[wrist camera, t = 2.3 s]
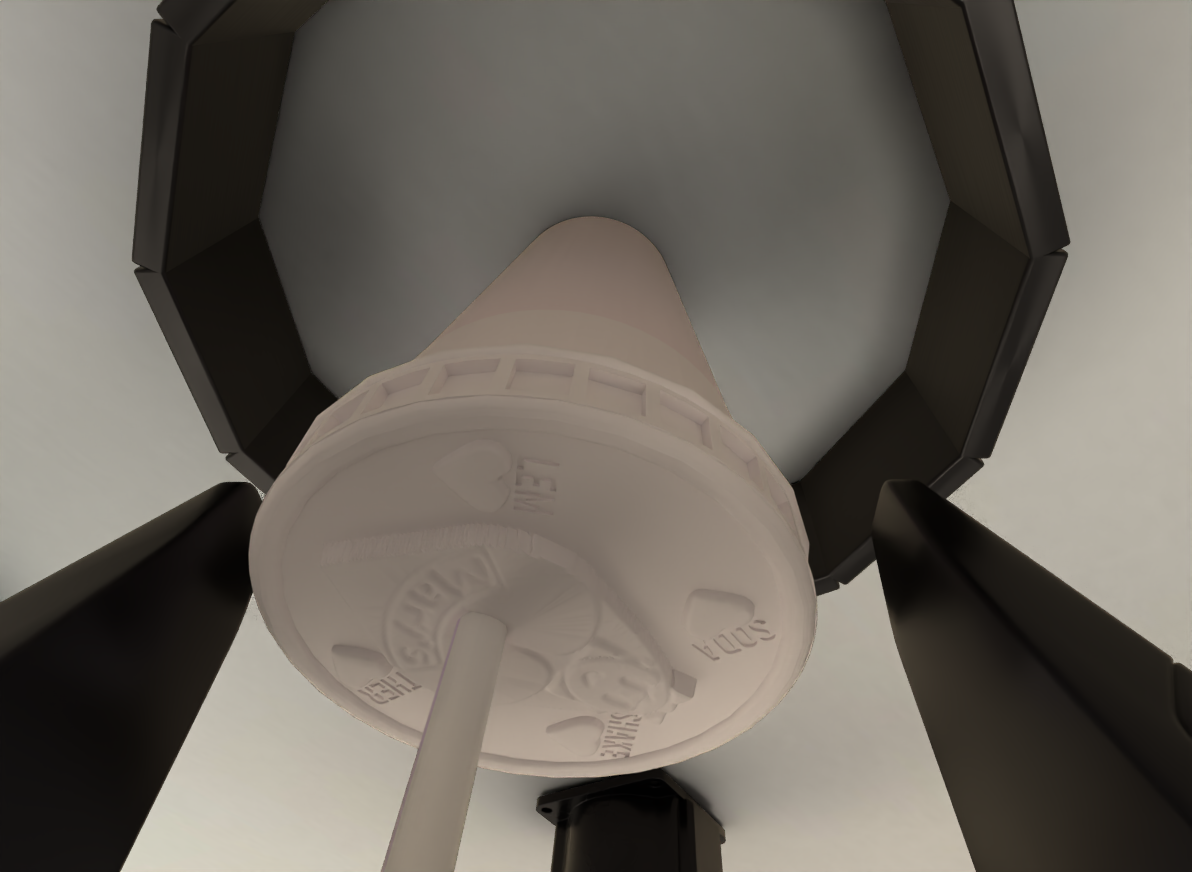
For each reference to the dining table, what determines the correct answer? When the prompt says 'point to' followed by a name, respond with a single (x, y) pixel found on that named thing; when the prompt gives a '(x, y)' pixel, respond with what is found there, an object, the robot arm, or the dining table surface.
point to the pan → (824, 496)
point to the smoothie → (539, 542)
